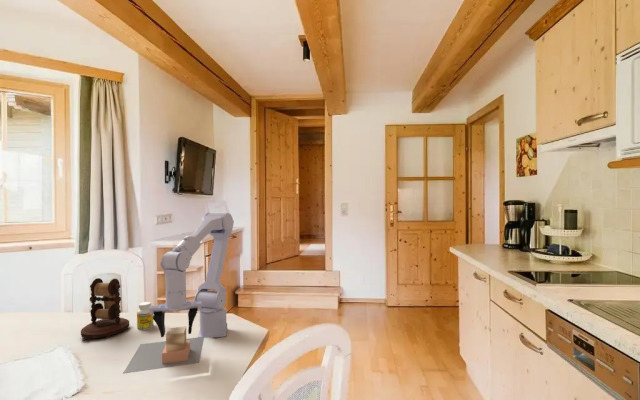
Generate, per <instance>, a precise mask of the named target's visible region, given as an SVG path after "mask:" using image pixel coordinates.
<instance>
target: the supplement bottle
mask: <svg viewBox="0 0 640 400" xmlns="http://www.w3.org/2000/svg"><path fill="white" fill-rule="evenodd" d="M151 306H152V303H151V301H143V302H140V303H138V310H137V311H136V328H137V330H139V331H145V330H149V329H151V328H153V327H154V319H153V316H154V314H150V311H149V308H150V307H151Z"/></svg>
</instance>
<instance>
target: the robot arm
mask: <svg viewBox="0 0 640 400" xmlns="http://www.w3.org/2000/svg"><path fill="white" fill-rule="evenodd" d="M233 228H234V219H233V215H232V214H231V212H230V213H229V212H226V213H223V212H221V213H220V212H218V213H216V212H214V213H213V212H212V213H211V212H206V213H205V214H204V215H203V216H202V217H201V222H200V224H199V225H198V227H197V228H196V229H195V230H194V232H193V233H192V234H191V235H185V236H184V237H183V238H182V240H181V241H180V242H179V243H178V244H177V245H176V246H175V247H174V248H173V249H172V251H171V250H170V251H167V252H166V253H164V254H163V256H162V258H161V261H160V267H161V269H162V271H163V275H164V276H165V279H164V280H165V303H161V304H154V305H151V307H150V308H149V311H150V314H153V322H155V324H156V325H157V327H158V330H159V334H160V337H161V338H164V337H165V336H166V326H165V319H166V318H165V314H166V313H169V312H179V311H188V313H187V316H188V317H187V319H188V329H187V333H188V335H191V334H192V331H193V330H192V329H193V324H194V321H195V318H196V316H197V314H198V312H199V330H198V335H197V337H203V338H204V339H206V338H207V339H208V338H213V339H214V338H221V337H226V336H227V329H228V322H227V307H224V306H225V305H226V301H227V298H226V292H227V288H226V287H225V286H224V285H223V284H222V283H221V281H222V276H223V270H224V267H225V261H226V255H227V251H228V247H229V246H228V245H229V241H230V237H231V236H232V235H233V234H232V232H233ZM208 235H210V237H212V238H213V240H214V241H213V245H212V249H211V253H210V259H209V264H208V268H207V273H206V277H205V281H204V282H203V283H201V284H200V285H198V288H197V290H196V291H197V292H196V293H195V296H194V299H193V300H192V301H187V271H186V270H187V269H188V268H189V266H190V265H191V264H190V263H191V260H192V258H193V256H194V255H195V253H196V252H197V251H198V250H199V249H200V248H201V242H202V241H203V240H204V239H205V238H206V237H208Z"/></svg>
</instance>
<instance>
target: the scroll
mask: <svg viewBox="0 0 640 400" xmlns="http://www.w3.org/2000/svg"><path fill="white" fill-rule="evenodd" d="M89 288H90V297H89V301H90V303H91V305H90V308H91V309H90V311H89V312H90V317H91V319H90V321H91V322H90V323H88V324H86V325H85V326H84V327H82V328H81V329H80V336H81V338H82V339H86V338H87V339H97V338H103V337H105V338H106V339H110V337H111V336H113V335H115V334H118V333H121V332H123V331H125V330H126V329H128V328H129V326H130V320H129V319H127V318H124V317H121V312H122V310H121V309H120V308H121V306H120V303H121V301H122V297H121V293H120V290H121V289H120V288H121V284H120V281H119V279H118V278H112V279H111V280H110V281H109V282H104V281H103V279H101V278H98V277H97V278H95V279H93V281H92V283H91V284H90V285H89ZM100 301H101V302H103V304H102V303H101V302H100ZM96 302H97V303H96Z"/></svg>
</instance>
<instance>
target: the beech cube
mask: <svg viewBox="0 0 640 400" xmlns="http://www.w3.org/2000/svg"><path fill="white" fill-rule="evenodd" d="M186 339H187V326H179V327H178V326H177V327H176V326H175V327H169V328H168V330H167V332H166V333H165V341H166V352H167V351H175V350H182V349H184V348H185V345H186Z"/></svg>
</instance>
